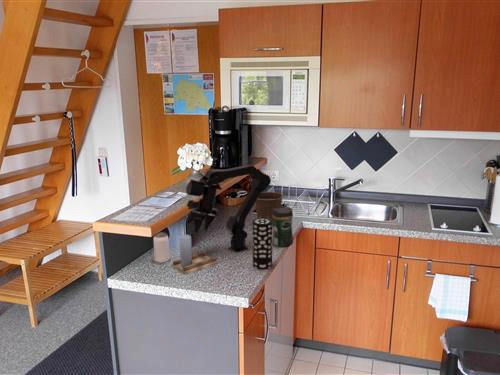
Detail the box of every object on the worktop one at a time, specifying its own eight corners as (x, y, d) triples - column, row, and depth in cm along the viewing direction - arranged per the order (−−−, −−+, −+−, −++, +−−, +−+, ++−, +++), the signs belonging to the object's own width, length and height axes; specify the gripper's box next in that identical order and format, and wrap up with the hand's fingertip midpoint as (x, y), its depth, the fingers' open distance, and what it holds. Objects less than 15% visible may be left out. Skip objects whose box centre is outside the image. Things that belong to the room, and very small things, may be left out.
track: (202, 256, 192) (202, 251, 191) (217, 263, 184) (216, 258, 183) (172, 266, 182) (171, 260, 181) (185, 274, 174) (185, 268, 173)
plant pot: (272, 230, 226) (272, 201, 222) (248, 224, 235) (247, 196, 231) (288, 222, 238) (288, 194, 234) (264, 217, 248) (264, 190, 244)
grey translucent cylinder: (191, 262, 183) (190, 234, 180) (193, 266, 179) (191, 238, 175) (180, 263, 182) (178, 235, 179) (181, 268, 177) (180, 239, 174)
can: (163, 256, 193) (161, 231, 190) (172, 259, 189) (171, 234, 186) (151, 260, 188) (150, 235, 185) (161, 264, 184) (159, 238, 181)
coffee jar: (287, 240, 211) (288, 204, 206) (295, 245, 204) (295, 208, 199) (270, 243, 207) (270, 206, 203) (277, 248, 200) (277, 211, 196)
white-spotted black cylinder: (248, 265, 182) (248, 221, 177) (262, 260, 187) (262, 217, 183) (262, 271, 176) (262, 225, 171) (276, 265, 182) (276, 221, 177)
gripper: (201, 192, 199) (195, 224, 201) (182, 194, 182) (175, 228, 183) (223, 198, 196) (215, 230, 197) (205, 200, 178) (197, 236, 180)
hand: (201, 231), depth 189 cm, fingers open, 9 cm apart
